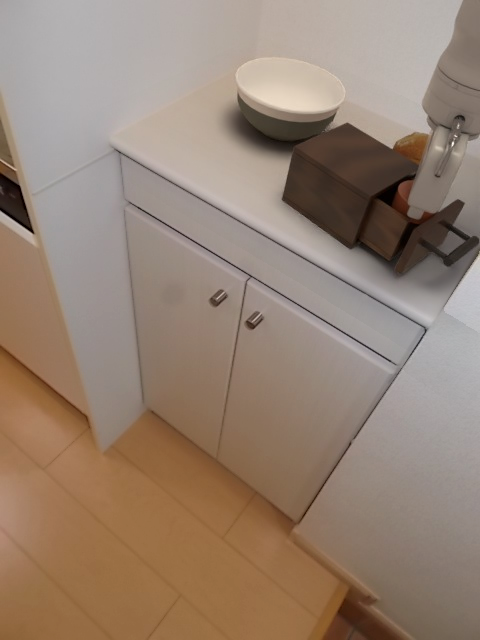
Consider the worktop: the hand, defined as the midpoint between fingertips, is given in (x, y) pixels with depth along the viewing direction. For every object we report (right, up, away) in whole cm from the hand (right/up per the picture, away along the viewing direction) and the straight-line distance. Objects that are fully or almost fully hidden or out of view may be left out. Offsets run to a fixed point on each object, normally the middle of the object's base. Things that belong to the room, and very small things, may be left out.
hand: (418, 199), depth 69 cm
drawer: (-1, -5, +5) cm, 8 cm away
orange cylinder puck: (0, -1, +1) cm, 2 cm away
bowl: (-16, +18, +24) cm, 34 cm away
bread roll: (+6, +9, +20) cm, 23 cm away
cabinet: (-8, +1, +11) cm, 14 cm away
